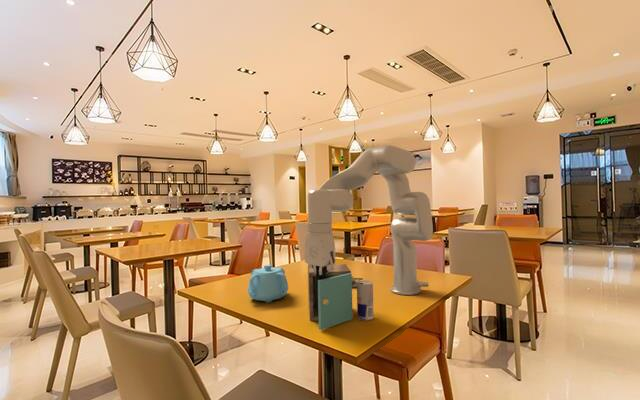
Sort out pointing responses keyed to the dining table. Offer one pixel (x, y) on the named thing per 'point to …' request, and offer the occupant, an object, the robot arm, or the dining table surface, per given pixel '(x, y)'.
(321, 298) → the door
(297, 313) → the dining table surface
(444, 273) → the dining table surface
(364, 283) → the energy drink
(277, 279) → the decorative pot
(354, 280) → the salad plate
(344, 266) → the cabinet
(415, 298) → the dining table surface
